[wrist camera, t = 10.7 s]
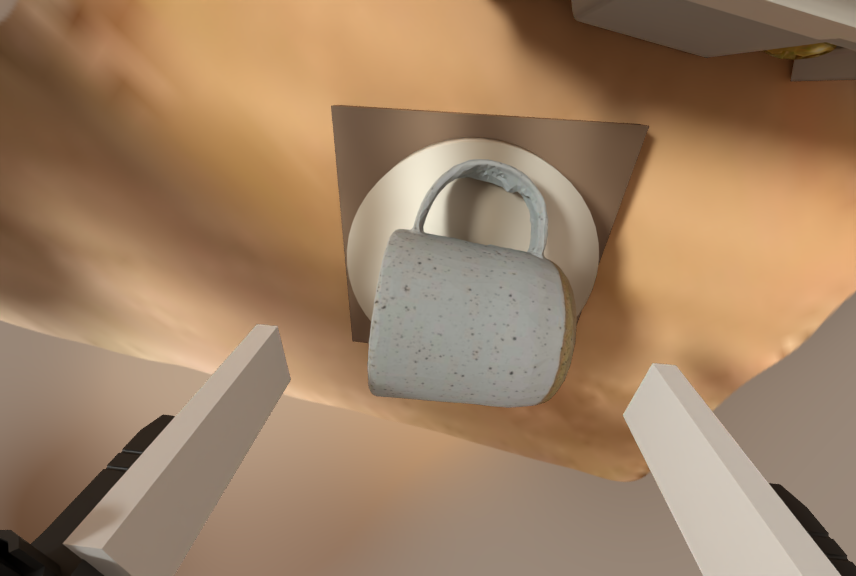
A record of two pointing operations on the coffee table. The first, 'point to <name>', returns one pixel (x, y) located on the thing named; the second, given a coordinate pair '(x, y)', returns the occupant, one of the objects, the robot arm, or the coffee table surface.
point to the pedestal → (476, 187)
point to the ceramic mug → (471, 310)
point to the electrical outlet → (740, 29)
